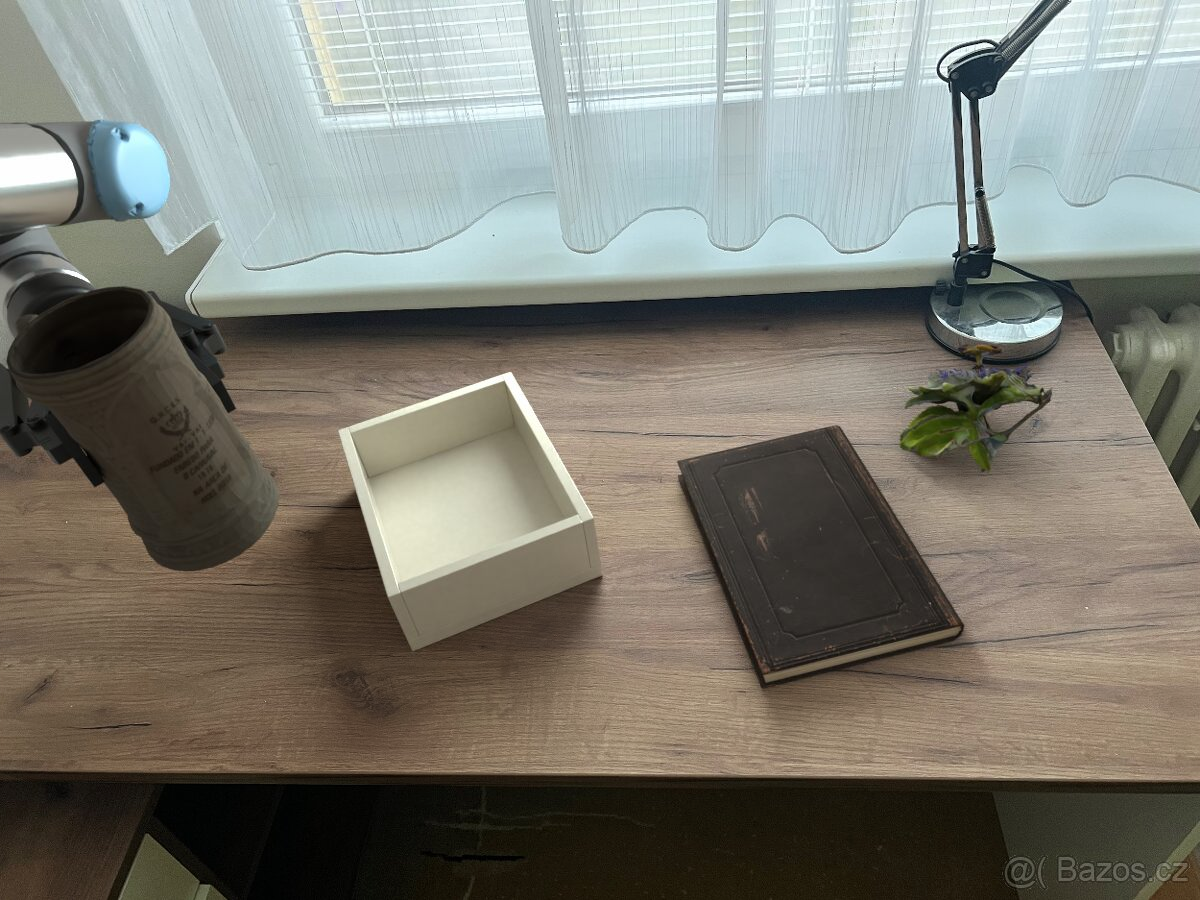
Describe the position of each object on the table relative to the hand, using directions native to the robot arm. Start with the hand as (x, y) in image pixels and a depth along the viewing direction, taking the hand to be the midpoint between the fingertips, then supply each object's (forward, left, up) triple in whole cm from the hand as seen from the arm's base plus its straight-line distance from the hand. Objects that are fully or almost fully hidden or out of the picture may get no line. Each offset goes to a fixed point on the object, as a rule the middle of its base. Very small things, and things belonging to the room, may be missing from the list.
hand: (159, 432), depth 61 cm
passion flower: (+64, -12, -21) cm, 68 cm away
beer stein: (-2, +4, -11) cm, 12 cm away
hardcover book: (+44, -16, -21) cm, 51 cm away
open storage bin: (+19, 0, -21) cm, 28 cm away
